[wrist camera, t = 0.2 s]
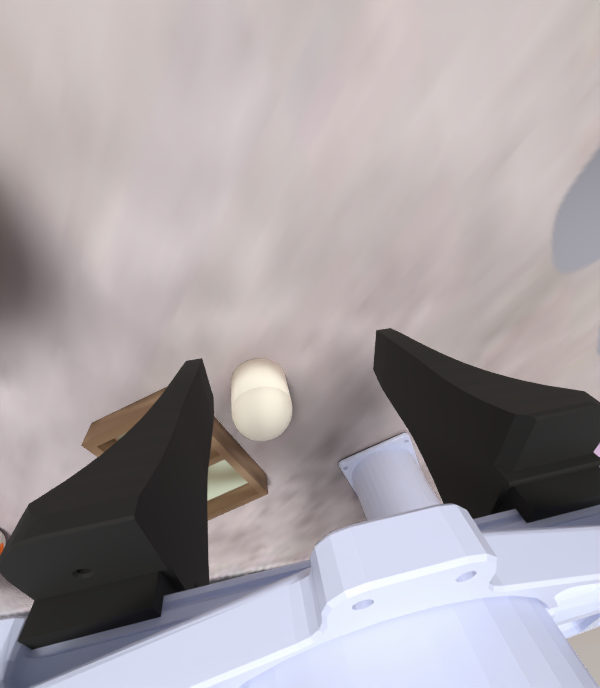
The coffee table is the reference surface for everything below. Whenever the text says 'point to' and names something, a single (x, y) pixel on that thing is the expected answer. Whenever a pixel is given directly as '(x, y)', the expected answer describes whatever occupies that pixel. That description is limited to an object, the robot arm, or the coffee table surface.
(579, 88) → the coffee table surface
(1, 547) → the pill bottle
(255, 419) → the cream egg
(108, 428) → the egg crate
